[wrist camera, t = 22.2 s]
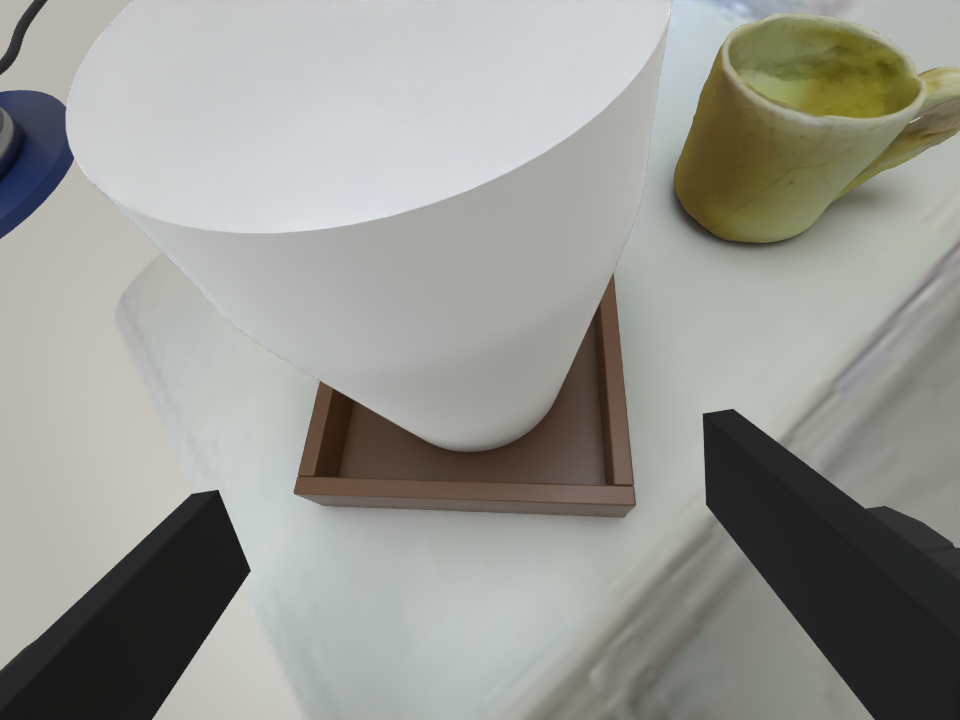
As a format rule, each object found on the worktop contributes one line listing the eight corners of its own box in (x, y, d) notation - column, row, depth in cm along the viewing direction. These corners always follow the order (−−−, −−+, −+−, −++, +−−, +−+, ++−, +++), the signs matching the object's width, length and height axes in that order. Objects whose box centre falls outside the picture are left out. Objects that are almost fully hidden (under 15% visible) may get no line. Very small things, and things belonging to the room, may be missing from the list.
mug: (638, 233, 25) (748, 19, 18) (654, 162, 32) (739, -16, 25) (858, 310, 24) (1075, 115, 17) (827, 219, 31) (971, 51, 23)
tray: (370, 272, 29) (353, 239, 26) (602, 263, 27) (609, 226, 24) (323, 505, 23) (292, 493, 20) (624, 517, 21) (636, 506, 18)
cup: (312, 407, 25) (-60, 116, 9) (445, 243, 29) (333, -143, 14) (514, 543, 20) (421, 402, 5) (638, 326, 24) (790, -110, 9)
